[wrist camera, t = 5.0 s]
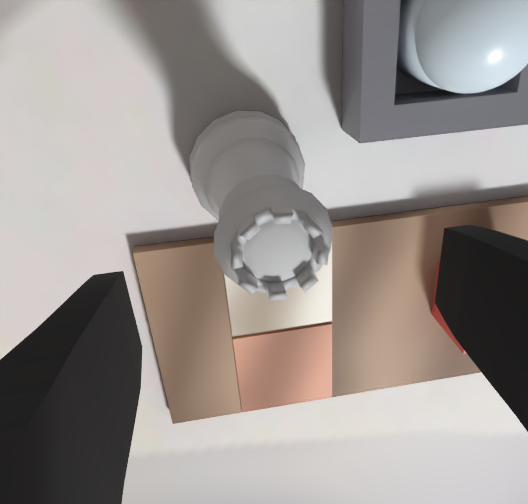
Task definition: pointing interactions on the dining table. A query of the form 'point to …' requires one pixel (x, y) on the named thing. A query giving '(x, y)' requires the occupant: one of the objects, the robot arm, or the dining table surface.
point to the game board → (310, 316)
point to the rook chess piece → (260, 204)
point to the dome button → (463, 42)
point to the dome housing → (409, 86)
